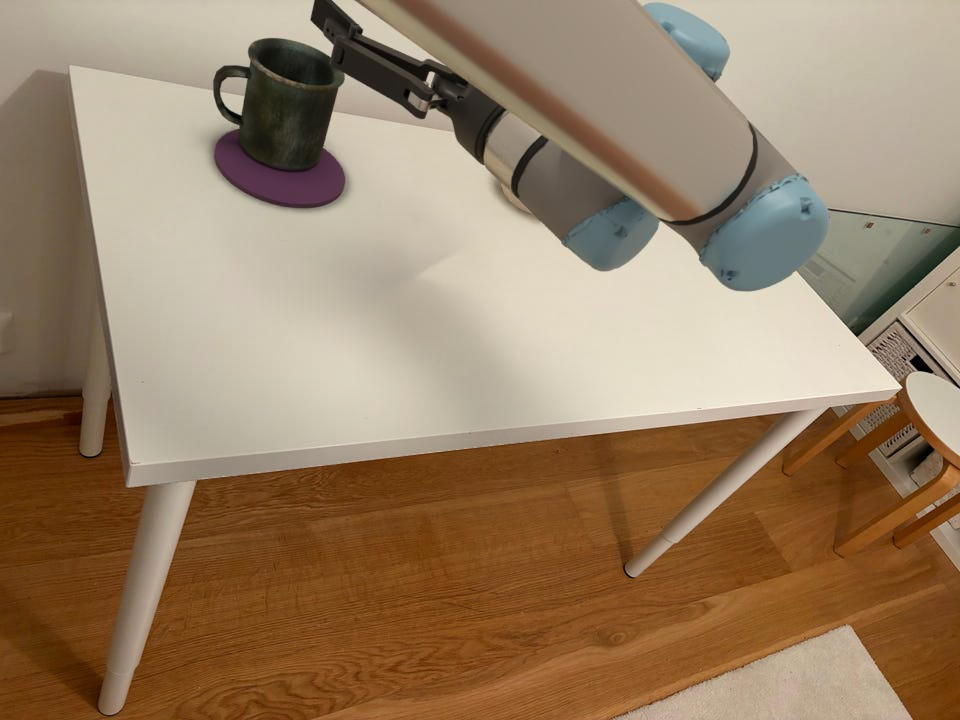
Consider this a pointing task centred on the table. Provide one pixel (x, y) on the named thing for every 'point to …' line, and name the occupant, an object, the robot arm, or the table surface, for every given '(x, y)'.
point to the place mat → (279, 176)
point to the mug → (283, 102)
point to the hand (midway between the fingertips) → (374, 9)
